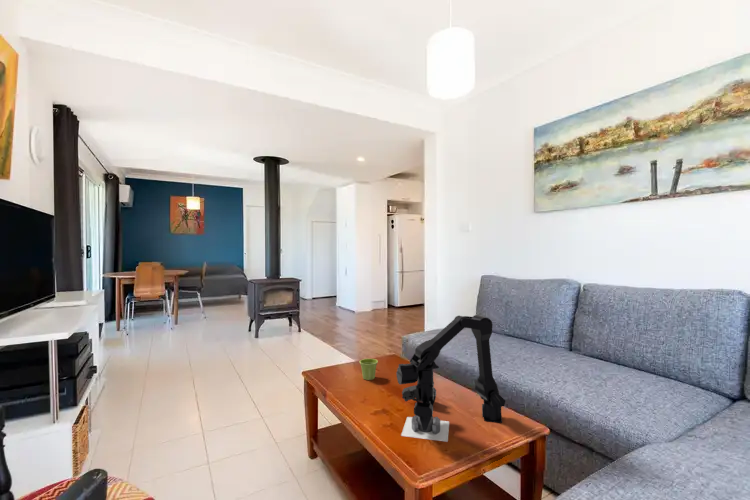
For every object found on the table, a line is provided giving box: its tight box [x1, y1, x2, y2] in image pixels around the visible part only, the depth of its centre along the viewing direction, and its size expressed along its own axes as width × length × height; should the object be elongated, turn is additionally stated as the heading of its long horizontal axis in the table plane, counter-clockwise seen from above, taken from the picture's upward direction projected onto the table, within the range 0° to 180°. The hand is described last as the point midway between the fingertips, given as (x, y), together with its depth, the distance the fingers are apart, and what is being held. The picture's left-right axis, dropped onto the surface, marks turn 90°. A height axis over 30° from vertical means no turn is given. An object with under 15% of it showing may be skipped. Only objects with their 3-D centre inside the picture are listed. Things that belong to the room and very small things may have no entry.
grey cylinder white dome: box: [418, 415, 434, 432], centre depth 123 cm, size 6×6×4 cm
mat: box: [400, 416, 450, 443], centre depth 123 cm, size 16×14×1 cm
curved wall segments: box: [411, 414, 441, 435], centre depth 123 cm, size 10×7×3 cm
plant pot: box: [359, 358, 379, 381], centre depth 174 cm, size 9×9×9 cm
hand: (426, 423), depth 123 cm, fingers open, 9 cm apart
